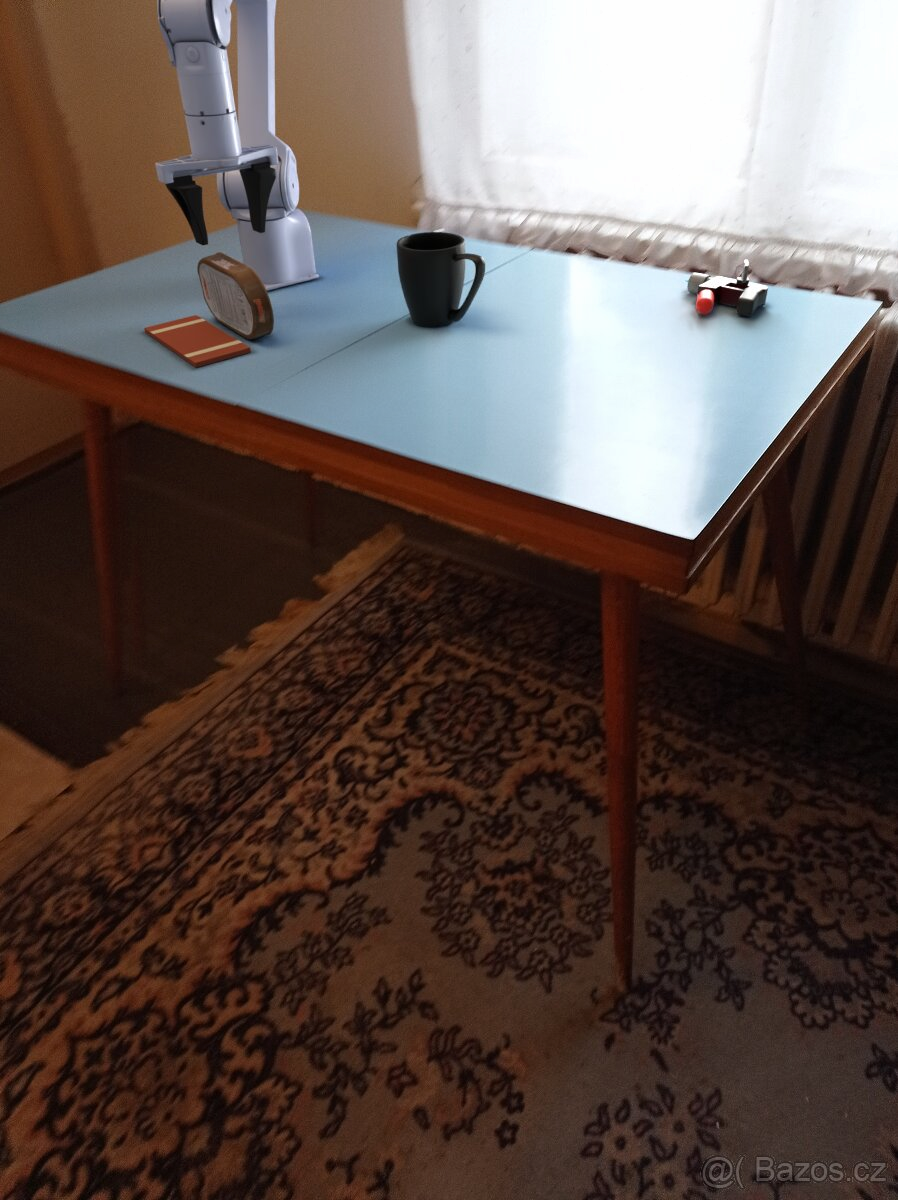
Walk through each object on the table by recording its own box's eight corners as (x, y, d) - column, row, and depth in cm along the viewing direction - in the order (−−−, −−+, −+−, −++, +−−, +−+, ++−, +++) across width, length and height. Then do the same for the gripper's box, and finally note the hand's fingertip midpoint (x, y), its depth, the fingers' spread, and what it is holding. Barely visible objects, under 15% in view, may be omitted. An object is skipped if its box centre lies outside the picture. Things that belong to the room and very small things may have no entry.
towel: (196, 319, 116) (195, 314, 116) (251, 352, 107) (250, 347, 106) (145, 332, 113) (143, 327, 113) (196, 367, 103) (194, 362, 103)
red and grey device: (690, 286, 121) (694, 249, 118) (774, 304, 114) (782, 265, 111) (651, 306, 115) (655, 267, 112) (738, 326, 109) (745, 286, 106)
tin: (280, 343, 109) (269, 271, 104) (256, 349, 107) (244, 277, 102) (224, 311, 119) (212, 244, 114) (202, 316, 117) (189, 249, 112)
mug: (458, 343, 107) (456, 260, 101) (387, 321, 114) (381, 242, 108) (503, 323, 112) (503, 244, 106) (432, 303, 118) (429, 227, 113)
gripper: (163, 125, 96) (189, 256, 105) (283, 108, 103) (299, 232, 111) (138, 117, 101) (165, 243, 109) (255, 101, 108) (271, 221, 116)
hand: (231, 237), depth 111 cm, fingers open, 7 cm apart
